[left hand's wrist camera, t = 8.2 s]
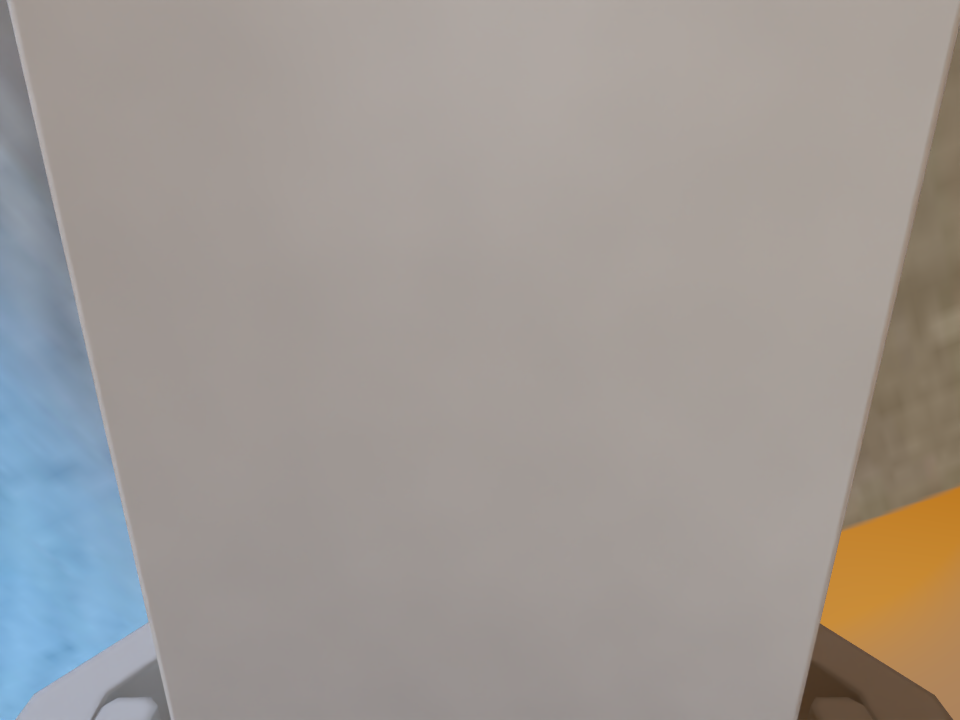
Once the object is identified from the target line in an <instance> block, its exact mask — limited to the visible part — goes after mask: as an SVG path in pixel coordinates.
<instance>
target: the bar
mask: <svg viewBox="0 0 960 720" xmlns="http://www.w3.org/2000/svg"><path fill="white" fill-rule="evenodd" d="M7 3H8V7H9V12H10V16H11V20H12V25H13V29H14V33H15V38H16V42H17V47H18V51H19V55H20V60H21V64H22V69H23V73H24V77H25V82H26V86H27V90H28V95H29V99H30V104H31V108H32V112H33V117H34V121H35V126H36V130H37V134H38V139H39V143H40V147H41V152H42V156H43V161H44V165H45V169H46V174H47V178H48V182H49V187H50V191H51V196H52V200H53V204H54V209H55V213H56V218H57V222H58V226H59V231H60V235H61V239H62V244H63V248H64V253H65V257H66V261H67V266H68V270H69V275H70V279H71V283H72V288H73V292H74V296H75V301H76V305H77V310H78V314H79V318H80V323H81V327H82V331H83V336H84V340H85V345H86V349H87V353H88V358H89V362H90V367H91V371H92V375H93V380H94V384H95V388H96V393H97V397H98V402H99V406H100V410H101V415H102V419H103V424H104V428H105V432H106V437H107V441H108V445H109V450H110V454H111V459H112V463H113V467H114V472H115V476H116V480H117V485H118V489H119V494H120V498H121V502H122V507H123V511H124V516H125V520H126V524H127V529H128V533H129V537H130V542H131V546H132V551H133V555H134V559H135V564H136V568H137V573H138V577H139V581H140V586H141V590H142V594H143V599H144V603H145V608H146V612H147V616H148V621H149V625H150V629H151V634H152V638H153V643H154V647H155V651H156V656H157V660H158V665H159V669H160V673H161V678H162V682H163V686H164V691H165V695H166V700H167V704H168V708H169V713H170V717H171V720H797V718H798V714H799V710H800V706H801V701H802V697H803V693H804V688H805V684H806V680H807V676H808V671H809V667H810V663H811V659H812V654H813V650H814V646H815V641H816V637H817V633H818V629H819V624H820V620H821V616H822V611H823V607H824V603H825V599H826V594H827V590H828V586H829V581H830V577H831V573H832V569H833V564H834V560H835V556H836V552H837V547H838V543H839V539H840V534H841V530H842V526H843V522H844V517H845V513H846V509H847V504H848V500H849V496H850V492H851V487H852V483H853V479H854V475H855V470H856V466H857V462H858V457H859V453H860V449H861V445H862V440H863V436H864V432H865V427H866V423H867V419H868V415H869V410H870V406H871V402H872V398H873V393H874V389H875V385H876V380H877V376H878V372H879V368H880V363H881V359H882V355H883V350H884V346H885V342H886V338H887V333H888V329H889V325H890V320H891V316H892V312H893V308H894V303H895V299H896V295H897V291H898V286H899V282H900V278H901V273H902V269H903V265H904V261H905V256H906V252H907V248H908V243H909V239H910V235H911V231H912V226H913V222H914V218H915V214H916V209H917V205H918V201H919V196H920V192H921V188H922V184H923V179H924V175H925V171H926V166H927V162H928V158H929V154H930V149H931V145H932V141H933V136H934V132H935V128H936V124H937V119H938V115H939V111H940V107H941V102H942V98H943V94H944V89H945V85H946V81H947V77H948V72H949V68H950V64H951V59H952V55H953V51H954V47H955V42H956V38H957V34H958V30H959V25H960V0H7Z"/></svg>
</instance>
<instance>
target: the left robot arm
mask: <svg viewBox="0 0 960 720" xmlns="http://www.w3.org/2000/svg"><path fill="white" fill-rule="evenodd" d="M15 720H171V717H170V713H169V708H168V704H167V700H166V695H165V691H164V686H163V682H162V678H161V673H160V669H159V665H158V660H157V656H156V651H155V647H154V643H153V638H152V634H151V629H150V625H149V622H148V623H147V624H145V625H144V626H142V627H140V628H139V629H137V630H136V631H134V632H132V633H131V634H129V635H128V636H126V637H124V638H123V639H121V640H120V641H118V642H117V643H115V644H113V645H112V646H110V647H109V648H107V649H105V650H104V651H102V652H101V653H99V654H97V655H96V656H94V657H93V658H91V659H89V660H88V661H86V662H85V663H83V664H82V665H80V666H78V667H77V668H75V669H74V670H72V671H70V672H69V673H67V674H66V675H64V676H62V677H61V678H59V679H58V680H56V681H54V682H53V683H51V684H50V685H48V686H47V687H45V688H43V689H42V690H40V691H39V692H37V693H35V694H34V695H33V697H32V698H31V699H30V701H29V702H28V703H27V705H26V706H25V707H24V709H23V710H22V711H21V713H20V714H19V715H18V717H17V718H16V719H15ZM797 720H953V719H952V718H951V716H950V715H949V714H948V712H947V711H946V710H945V708H944V707H943V706H942V704H941V703H940V702H939V700H938V699H937V698H936V696H935V695H933V694H932V693H930V692H929V691H927V690H925V689H924V688H922V687H921V686H919V685H917V684H916V683H914V682H913V681H911V680H909V679H908V678H906V677H905V676H903V675H901V674H900V673H898V672H897V671H895V670H893V669H892V668H890V667H889V666H887V665H885V664H884V663H882V662H881V661H879V660H877V659H876V658H874V657H873V656H871V655H869V654H868V653H866V652H865V651H863V650H861V649H860V648H858V647H857V646H855V645H853V644H852V643H850V642H849V641H847V640H845V639H844V638H842V637H841V636H839V635H837V634H836V633H834V632H833V631H831V630H829V629H828V628H826V627H825V626H823V625H821V624H819V629H818V633H817V637H816V641H815V646H814V650H813V654H812V659H811V663H810V667H809V671H808V676H807V680H806V684H805V688H804V693H803V697H802V701H801V706H800V710H799V714H798V718H797Z"/></svg>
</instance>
